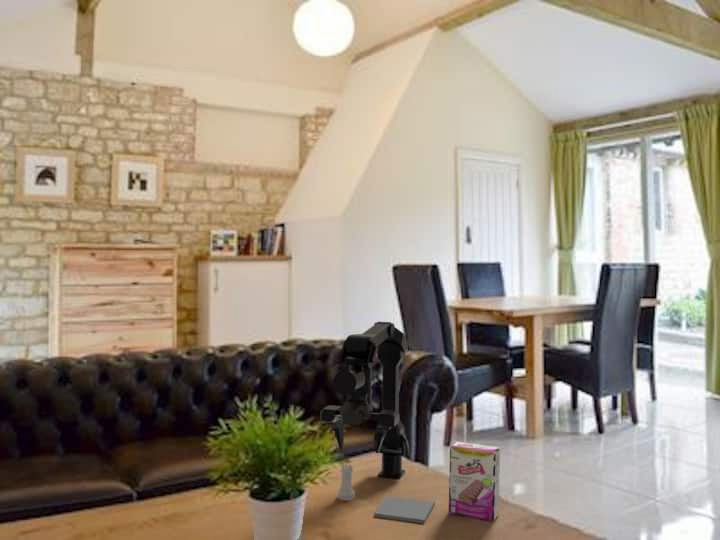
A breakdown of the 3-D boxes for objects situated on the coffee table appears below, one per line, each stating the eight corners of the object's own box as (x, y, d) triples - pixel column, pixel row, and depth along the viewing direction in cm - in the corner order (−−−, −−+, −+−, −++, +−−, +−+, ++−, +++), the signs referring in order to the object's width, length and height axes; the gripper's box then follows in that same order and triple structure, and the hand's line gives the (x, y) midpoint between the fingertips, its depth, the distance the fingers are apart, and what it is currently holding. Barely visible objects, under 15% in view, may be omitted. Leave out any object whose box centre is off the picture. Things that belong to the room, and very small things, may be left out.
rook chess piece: (356, 495, 161) (356, 464, 161) (354, 501, 156) (354, 469, 156) (338, 494, 161) (339, 463, 161) (336, 501, 157) (336, 469, 157)
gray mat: (387, 499, 159) (387, 495, 159) (434, 505, 155) (434, 501, 155) (374, 516, 147) (374, 513, 147) (424, 523, 144) (424, 520, 144)
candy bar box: (447, 514, 149) (448, 445, 149) (453, 507, 154) (454, 440, 154) (494, 523, 144) (495, 451, 144) (499, 515, 149) (500, 446, 149)
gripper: (311, 390, 148) (311, 456, 148) (388, 396, 142) (388, 465, 142) (328, 382, 158) (327, 444, 159) (400, 387, 153) (399, 451, 153)
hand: (359, 451), depth 153 cm, fingers open, 9 cm apart
